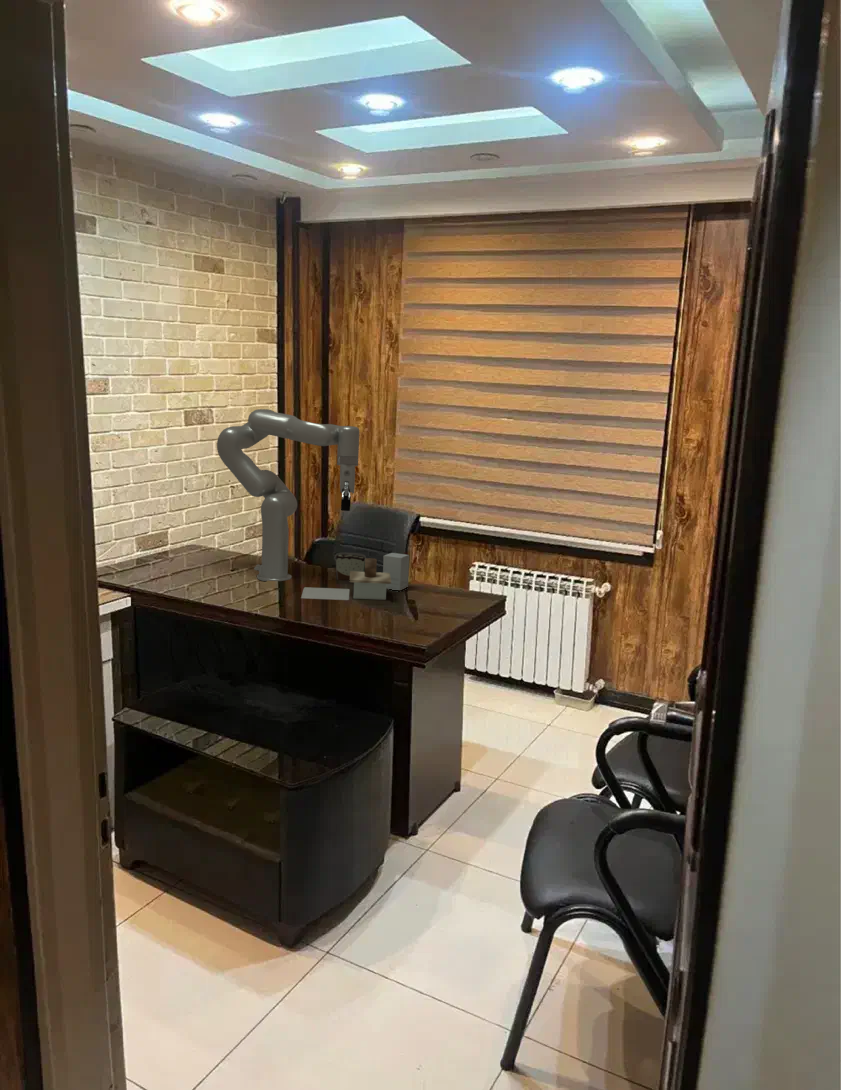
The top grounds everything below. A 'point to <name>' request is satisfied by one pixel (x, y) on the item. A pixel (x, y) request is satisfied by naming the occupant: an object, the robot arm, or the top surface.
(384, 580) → the lid
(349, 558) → the grey half-round piece
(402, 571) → the supplement box
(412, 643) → the top surface
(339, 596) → the mat
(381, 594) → the open square bin
